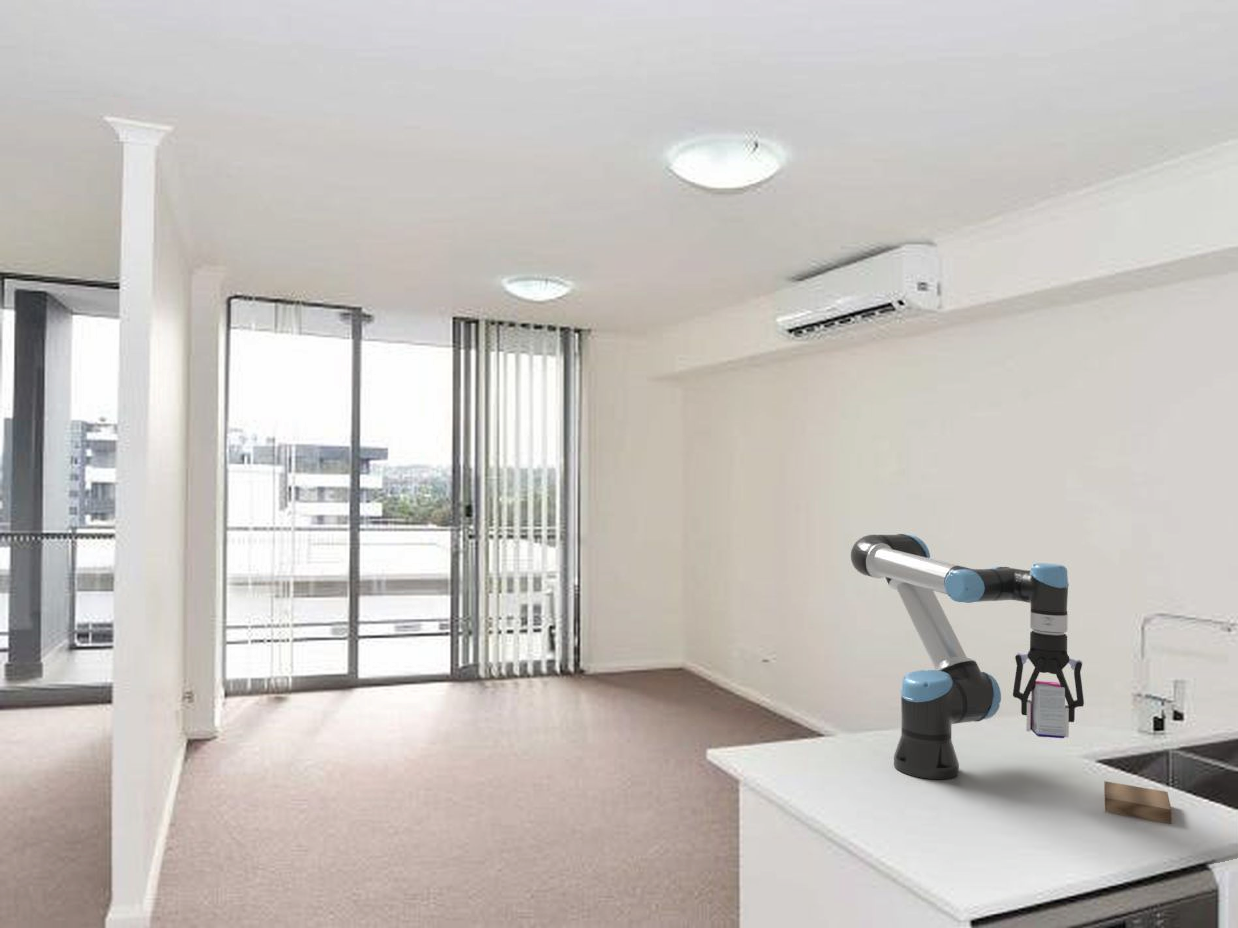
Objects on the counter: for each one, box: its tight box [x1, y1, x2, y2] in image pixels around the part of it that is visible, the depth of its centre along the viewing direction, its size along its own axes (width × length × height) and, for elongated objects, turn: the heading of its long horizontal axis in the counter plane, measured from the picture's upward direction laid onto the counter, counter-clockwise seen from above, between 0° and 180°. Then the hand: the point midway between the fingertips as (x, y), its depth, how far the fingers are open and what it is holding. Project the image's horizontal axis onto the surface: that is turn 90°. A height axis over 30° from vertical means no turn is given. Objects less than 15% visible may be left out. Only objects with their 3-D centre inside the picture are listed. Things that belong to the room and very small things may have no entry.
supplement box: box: [1030, 680, 1066, 739], centre depth 186 cm, size 6×6×12 cm
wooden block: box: [1103, 780, 1173, 825], centre depth 179 cm, size 12×12×3 cm
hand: (1047, 732), depth 186 cm, fingers closed on supplement box, 7 cm apart
